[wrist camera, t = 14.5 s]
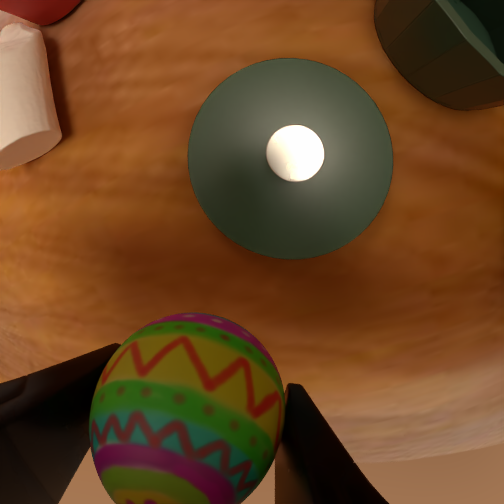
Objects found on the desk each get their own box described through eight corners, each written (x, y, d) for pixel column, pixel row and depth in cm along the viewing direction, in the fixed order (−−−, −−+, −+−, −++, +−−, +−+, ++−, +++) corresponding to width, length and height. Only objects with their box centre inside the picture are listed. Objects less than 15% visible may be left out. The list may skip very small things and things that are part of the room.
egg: (127, 289, 9) (-5, 410, 3) (285, 289, 8) (277, 485, 3) (158, 404, 10) (95, 527, 5) (286, 413, 10) (277, 566, 4)
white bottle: (58, 13, 14) (15, -7, 9) (77, 132, 17) (21, 129, 12) (11, 53, 15) (-32, 43, 10) (26, 168, 18) (-26, 175, 13)
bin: (494, 17, 11) (548, -12, 4) (499, 132, 14) (573, 130, 7) (375, -38, 12) (404, -99, 5) (368, 79, 15) (418, 33, 8)
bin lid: (398, 89, 15) (435, 66, 10) (364, 269, 18) (390, 304, 13) (210, 54, 15) (185, 19, 10) (181, 236, 18) (148, 261, 14)
